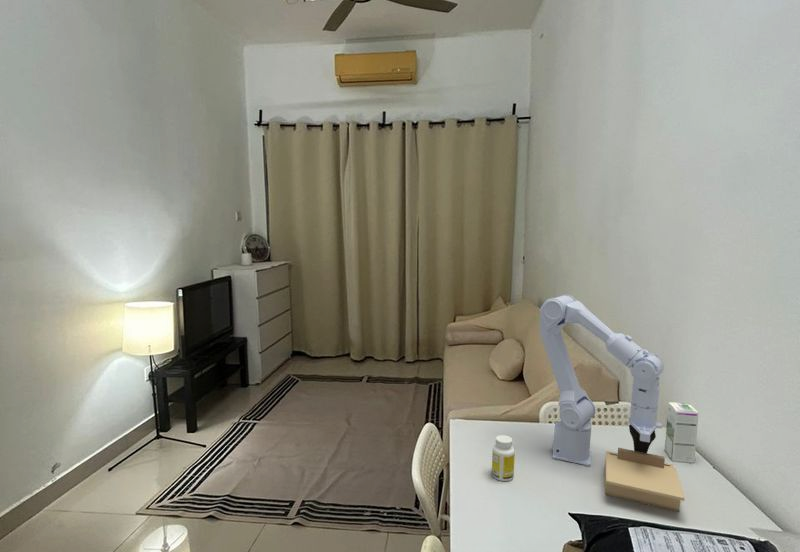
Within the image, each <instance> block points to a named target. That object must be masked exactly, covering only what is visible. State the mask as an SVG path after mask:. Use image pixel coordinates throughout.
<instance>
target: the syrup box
mask: <svg viewBox="0 0 800 552" xmlns="http://www.w3.org/2000/svg"><path fill="white" fill-rule="evenodd" d="M667 403H668V404H667V405H668V406H667V414H666V415H667V416H666V417H667V418H666V429H665V440H664V441H665V442H664V443H665V444H664V452H665V454H666V455H667V456H668V457H669V458H670V459H671V461H672V462H677V463H689V464H695V463H696V462H695V461H696V452H697V451H696V450H697V449H696V448H697V437H698V436H697V435H698V426H699V425H698V423H699V411H698V410H697V409H696V408H694V407H693V405H691V404H690V403H686V402H670V401H669V402H667Z"/></svg>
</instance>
